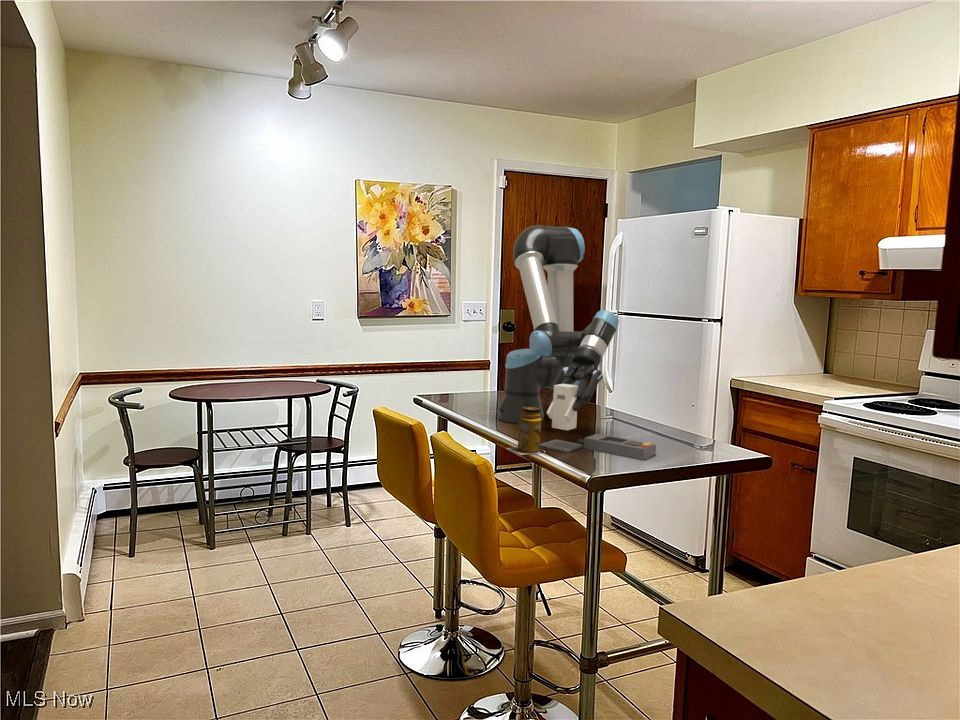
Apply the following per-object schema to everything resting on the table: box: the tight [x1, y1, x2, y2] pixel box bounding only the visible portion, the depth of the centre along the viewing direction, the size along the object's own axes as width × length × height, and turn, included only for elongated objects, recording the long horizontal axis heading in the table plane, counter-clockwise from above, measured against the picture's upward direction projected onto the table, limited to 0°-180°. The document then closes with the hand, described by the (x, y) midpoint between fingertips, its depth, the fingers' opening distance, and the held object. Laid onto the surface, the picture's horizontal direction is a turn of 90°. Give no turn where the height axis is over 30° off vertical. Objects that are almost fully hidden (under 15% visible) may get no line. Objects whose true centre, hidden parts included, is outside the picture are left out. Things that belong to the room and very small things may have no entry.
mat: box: [540, 438, 584, 453], centre depth 202 cm, size 9×9×1 cm
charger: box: [551, 384, 579, 431], centre depth 200 cm, size 5×5×12 cm
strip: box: [576, 433, 657, 461], centre depth 201 cm, size 22×8×4 cm, turn 53°
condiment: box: [505, 406, 546, 456], centre depth 195 cm, size 7×8×12 cm
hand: (558, 417), depth 197 cm, fingers closed on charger, 5 cm apart
